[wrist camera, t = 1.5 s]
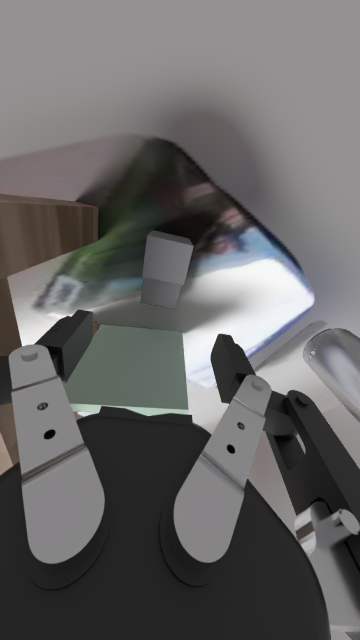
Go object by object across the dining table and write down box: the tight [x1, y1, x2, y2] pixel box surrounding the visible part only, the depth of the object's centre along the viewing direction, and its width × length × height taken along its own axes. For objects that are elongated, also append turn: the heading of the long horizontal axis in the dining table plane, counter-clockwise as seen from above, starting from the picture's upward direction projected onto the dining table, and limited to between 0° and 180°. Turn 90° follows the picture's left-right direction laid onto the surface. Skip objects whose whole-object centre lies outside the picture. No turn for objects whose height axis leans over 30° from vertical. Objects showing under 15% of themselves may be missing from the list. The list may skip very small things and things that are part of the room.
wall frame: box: [0, 194, 98, 475], centre depth 22 cm, size 3×28×20 cm, turn 168°
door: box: [63, 324, 188, 415], centre depth 27 cm, size 2×14×15 cm, turn 83°
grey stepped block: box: [141, 230, 193, 309], centre depth 26 cm, size 5×9×6 cm, turn 168°
